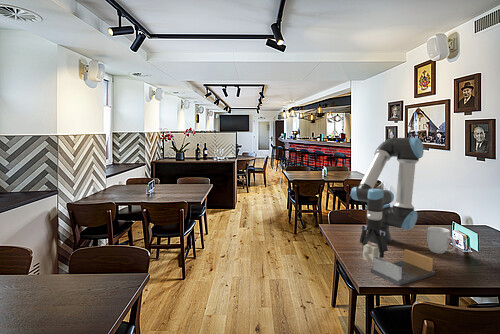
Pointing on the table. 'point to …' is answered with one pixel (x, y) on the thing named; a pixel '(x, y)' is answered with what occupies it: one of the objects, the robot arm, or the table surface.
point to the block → (370, 252)
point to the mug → (439, 239)
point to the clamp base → (409, 271)
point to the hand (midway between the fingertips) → (372, 259)
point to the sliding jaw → (418, 260)
